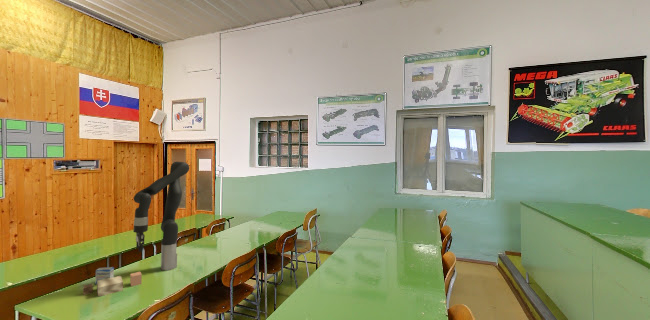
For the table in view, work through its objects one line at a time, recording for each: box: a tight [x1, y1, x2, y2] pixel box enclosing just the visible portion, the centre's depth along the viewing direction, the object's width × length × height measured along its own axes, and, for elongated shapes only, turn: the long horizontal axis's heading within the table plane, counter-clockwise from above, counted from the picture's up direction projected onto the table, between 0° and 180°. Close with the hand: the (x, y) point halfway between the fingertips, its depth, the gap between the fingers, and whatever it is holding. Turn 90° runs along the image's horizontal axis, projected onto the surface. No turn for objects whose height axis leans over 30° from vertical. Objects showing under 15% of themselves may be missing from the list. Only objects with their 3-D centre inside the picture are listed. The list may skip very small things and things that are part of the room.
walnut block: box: [82, 283, 94, 296], centre depth 153 cm, size 4×4×4 cm
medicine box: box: [94, 266, 115, 285], centre depth 166 cm, size 8×4×9 cm, turn 105°
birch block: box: [96, 275, 124, 298], centre depth 157 cm, size 11×11×5 cm
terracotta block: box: [129, 271, 143, 287], centre depth 166 cm, size 5×5×6 cm
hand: (139, 249), depth 171 cm, fingers open, 8 cm apart
